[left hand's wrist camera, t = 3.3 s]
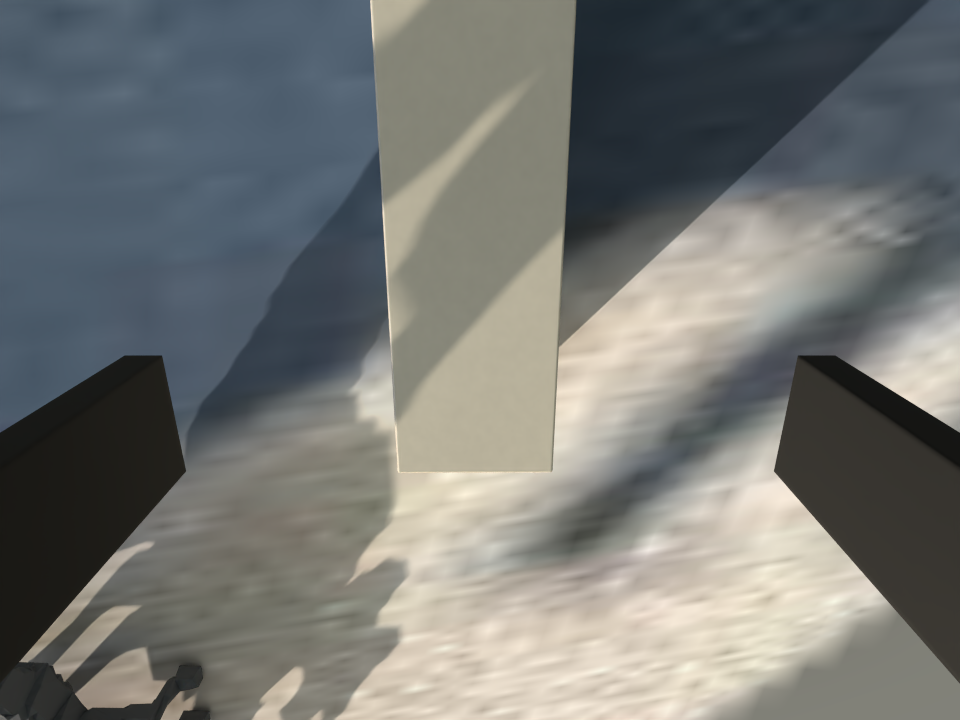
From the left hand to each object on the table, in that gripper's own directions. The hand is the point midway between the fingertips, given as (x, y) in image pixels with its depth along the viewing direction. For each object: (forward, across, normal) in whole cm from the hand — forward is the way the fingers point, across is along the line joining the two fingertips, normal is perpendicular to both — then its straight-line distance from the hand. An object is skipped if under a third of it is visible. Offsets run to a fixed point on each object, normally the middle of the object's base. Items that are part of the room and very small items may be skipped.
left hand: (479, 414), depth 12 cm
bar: (+14, 0, -26) cm, 30 cm away
